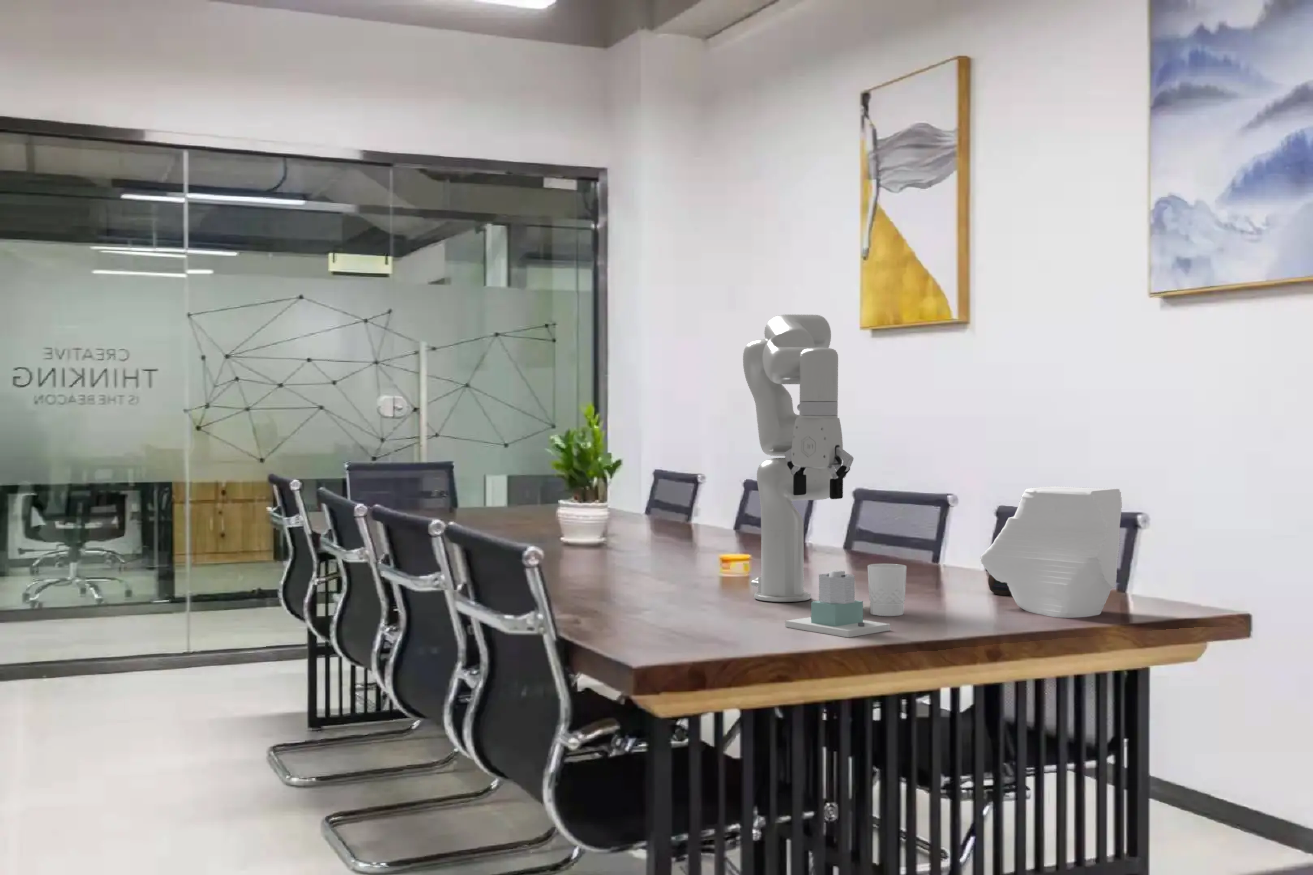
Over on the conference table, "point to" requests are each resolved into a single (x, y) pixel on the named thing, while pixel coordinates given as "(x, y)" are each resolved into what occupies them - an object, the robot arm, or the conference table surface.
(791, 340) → the robot arm
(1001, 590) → the mate gourd
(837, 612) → the pedestal
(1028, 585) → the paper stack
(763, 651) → the conference table surface
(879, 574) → the white cup
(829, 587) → the grey hollow octagonal block
